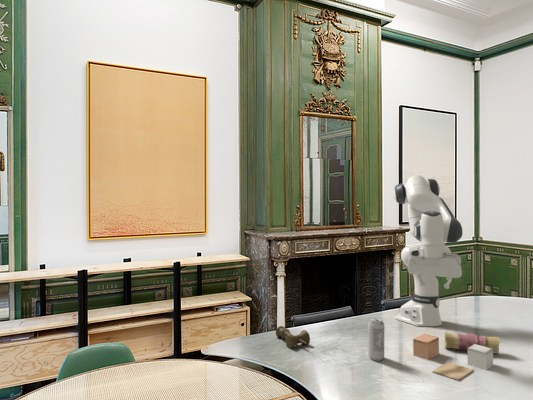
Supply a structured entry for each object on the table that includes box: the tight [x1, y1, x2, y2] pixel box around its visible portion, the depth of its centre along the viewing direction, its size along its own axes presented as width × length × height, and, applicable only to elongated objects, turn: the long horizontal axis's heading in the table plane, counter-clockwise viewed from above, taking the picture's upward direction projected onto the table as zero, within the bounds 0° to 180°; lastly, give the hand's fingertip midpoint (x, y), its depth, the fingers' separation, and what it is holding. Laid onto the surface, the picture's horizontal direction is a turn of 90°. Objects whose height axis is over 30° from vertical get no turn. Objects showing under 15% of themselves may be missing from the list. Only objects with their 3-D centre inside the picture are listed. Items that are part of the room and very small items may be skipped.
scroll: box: [443, 331, 501, 354], centre depth 160 cm, size 8×8×20 cm
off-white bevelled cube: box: [467, 344, 494, 370], centre depth 147 cm, size 6×6×6 cm
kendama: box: [275, 325, 311, 349], centre depth 169 cm, size 6×10×20 cm
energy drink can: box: [367, 317, 385, 362], centre depth 153 cm, size 6×6×15 cm
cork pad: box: [432, 361, 474, 382], centre depth 141 cm, size 9×12×1 cm
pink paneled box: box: [412, 333, 440, 361], centre depth 156 cm, size 6×9×6 cm, turn 131°
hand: (434, 287), depth 156 cm, fingers open, 8 cm apart
